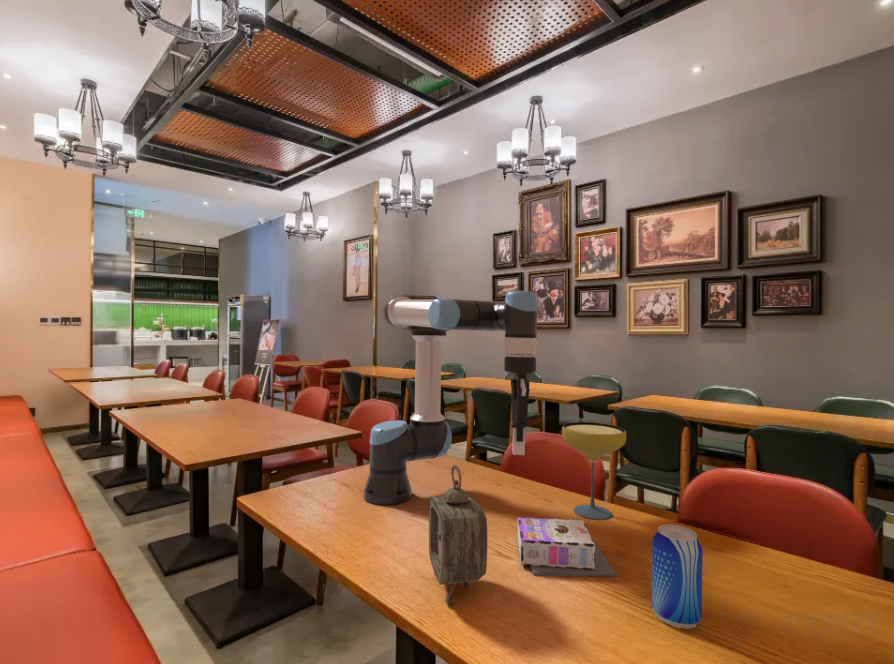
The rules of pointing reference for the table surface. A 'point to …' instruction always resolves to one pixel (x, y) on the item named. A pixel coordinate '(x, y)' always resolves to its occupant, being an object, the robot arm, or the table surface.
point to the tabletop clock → (457, 537)
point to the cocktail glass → (593, 453)
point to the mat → (600, 569)
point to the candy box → (555, 543)
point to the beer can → (677, 576)
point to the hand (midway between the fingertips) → (518, 453)
